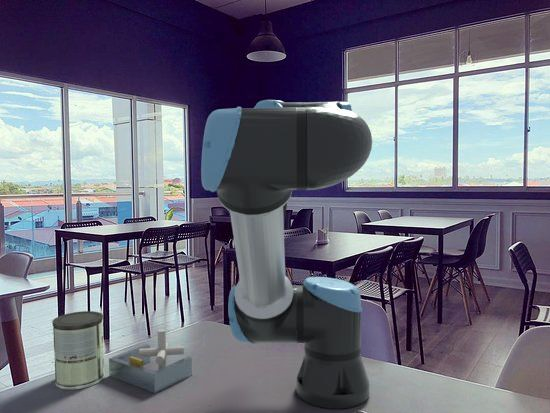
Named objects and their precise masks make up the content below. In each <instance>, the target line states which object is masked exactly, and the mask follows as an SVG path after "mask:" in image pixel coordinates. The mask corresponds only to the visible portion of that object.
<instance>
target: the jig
mask: <svg viewBox="0 0 550 413" xmlns="http://www.w3.org/2000/svg"><path fill="white" fill-rule="evenodd" d="M147 348H151V345H150V344H144V345H141V346H139V347H136V348H133V349H131V350H128V351H125V352H122V353H120V354H118V355H114V356H112V357H110V358H108V369H109V374H108V376H109V377H111V378H113V379H116V380H119V381H121V382H124V383H128V384H130V385H132V386H135V387H137V388H139V389H143V390H145V391H147V392H150V393H153V394H156V393H159V392H161V391H163V390H165V389H167V388H169V387H171V386H173V385H175V384H177V383H179V382H182V381H183V380H185V379H187V378H189V377H190V376H193V369H192V368H193V366H192V365H193V363H192V362H193V361H192V360H193V358H192V357H190V356H186V357H184V358H182V359H180V360H179V359H178V360H177V361H175V362H173V363H171V364H168V365H167V366H166V367H164V368H161V369H157V370H153V369H150V368H147V367H144V364H147V363H149V362H151V356H150V357H139V349H147Z"/></svg>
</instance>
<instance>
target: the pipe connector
mask: <svg viewBox="0 0 550 413" xmlns="http://www.w3.org/2000/svg"><path fill="white" fill-rule="evenodd" d="M166 334H167V331H166V329H164V328H161V329H157V347H150V348H147V349H139V357H150V358H151V357H155V364H157V365H158V366H157V367H158V369H157V370H159V369H161V368H164V367H166V366H168V365H167V356H180V355H185V346H184V345H181V346H169V343H168V341H167V336H166Z"/></svg>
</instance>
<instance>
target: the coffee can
mask: <svg viewBox="0 0 550 413" xmlns="http://www.w3.org/2000/svg"><path fill="white" fill-rule="evenodd" d="M103 320H104V314H103V313H102V312H99V311H93V310H92V311H91V310H88V311H86V310H85V311H83V310H82V311H75V312H69V313H66V314H65V313H64V314H62V315H59V316H57V317H55V318H53V320H52V322H51V323H52V327H53V328H52V329H53V330H52V331H53V332H52V333H53V351H54V352H53V354H54V371H55V372H54V376H55V384H54V385H55V386H56V388H59V389H60V390H67V391H68V390H70V391H71V390H72V391H73V390H81V389H86V388H89V387H92V386H94V385H97V384H99V383H100V382H102V381H103V380H104V379H105V375H106V374H105V357H104V354H105V353H104V351H105V350H104V324H103Z"/></svg>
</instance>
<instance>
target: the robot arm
mask: <svg viewBox="0 0 550 413" xmlns="http://www.w3.org/2000/svg"><path fill="white" fill-rule="evenodd" d="M372 145H373V137H372V132H371V130H370V127H369V124H367V122H366V121H365V120H364V119H363V118H362V117H361V116H360V115H358V114H357V113H355V112H354V111H353V109H352V104H351V103H350V102H347V101H339V100H337V101H314V102H312V101H311V102H305V101H304V102H302V101H301V102H300V101H299V102H284V101H282V100H276V99H264V100H260V101H258V102H257V103H256V105H255V106H254V107H253V108H250V107H249V108H248V107H247V108H242V107H241V106H237V107H236V108H234V107H233V108H221V109H220V108H219V109H216V110H213V111H212V112H211V113H210V114H209V115H208V117H207V119H206V122H205V127H204V133H203V138H202V150H201V163H200V164H201V167H200V170H201V171H200V175H201V185H202V187H203V189H204V190H205V191H210V192H211V193H215V192H216V195H217V199H218V201H219V202H220V204H221V205H222V206H223V207H224V208H225V209H226V210H227V211H229V214H230V222H231V228H232V235H233V240H234V241H233V242H234V249H235V256H236V262H237V269H238V275H239V281H238V282H237V283H236V285H234V286H232V287H231V289H230V290H229V295H228V305H227V306H228V309H227V310H228V313H227V314H228V318H229V327H230V330H231V334H232V336H233V337H234V339H235V340H236V341H238V342H241V343H249V344H304V355H303V357H302V361H301V364H300V366H299V370H298V373H297V376H296V381H295V382H296V383H295V386H296V388H295V389H296V394H297V396H298V397H299V398H300V399H301V400H303V401H304V402H306V403H308V404H310V405H313V406H316V407H320V408H326V409H336V410H338V409H348V408H353V407H357V406H359V405H361V404H363V403H365V402H366V401H367V400H368V399H369V398H370V380H369V378H368V374H367V371H366V368H365V365H364V362H363V359H362V355H361V354H362V348H361V347H362V338H361V337H362V335H361V333H362V327H361V325H362V322H361V321H362V312H363V308H362V302H361V292H360V290H359V288H358V287H357V286H356V285H355V284H353V283H352V282H348V281H345V280H342V279H339V278H333V277H325V276H309V277H307V278H305V279H304V280H303V283H302V284H303V285H301V284H300V285H296V284H294V285H293V284H292V282H291V281H290V279H289V277H287V276H286V258H285V257H286V254H285V251H286V250H285V222H286V215H287V207H288V202H289V200H290V199H291V197H292V193H293V191H311V190H312V191H314V190H316V191H317V190H319V189H320V190H321V189H322V190H323V189H325V188H329V187H332V186H335V185H338V184H340V183H342V182H344V181H346V180H348V179H349V178H352V176H354V175H355V174H356V173H357V172H359V170H360V169H362V167H363V166H364V165H365V164H366V162H367V161H368V159H369V157H370V155H371V151H372V148H373V146H372Z"/></svg>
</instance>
